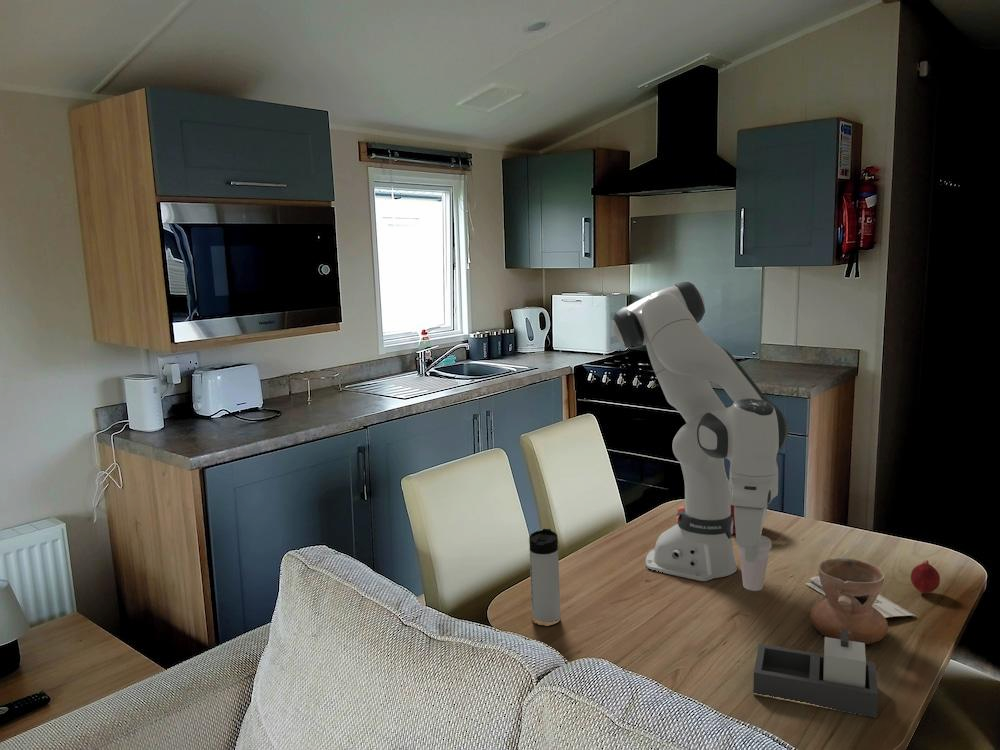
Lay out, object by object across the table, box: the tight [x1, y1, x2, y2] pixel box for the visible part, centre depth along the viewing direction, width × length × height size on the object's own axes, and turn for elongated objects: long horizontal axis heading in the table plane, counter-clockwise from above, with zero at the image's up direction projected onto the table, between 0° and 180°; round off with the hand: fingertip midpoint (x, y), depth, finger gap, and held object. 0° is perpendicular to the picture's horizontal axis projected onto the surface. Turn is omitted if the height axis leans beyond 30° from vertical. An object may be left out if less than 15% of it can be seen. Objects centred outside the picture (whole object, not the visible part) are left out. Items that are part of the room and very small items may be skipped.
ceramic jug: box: [809, 557, 889, 645], centre depth 155 cm, size 18×14×14 cm
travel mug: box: [528, 528, 561, 622], centre depth 165 cm, size 6×7×20 cm
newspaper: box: [805, 575, 918, 623], centre depth 169 cm, size 23×12×2 cm, turn 13°
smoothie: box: [736, 534, 773, 592], centre depth 146 cm, size 6×6×14 cm
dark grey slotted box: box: [753, 629, 879, 719], centre depth 139 cm, size 20×16×10 cm
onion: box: [910, 559, 941, 595], centre depth 170 cm, size 6×6×8 cm
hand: (752, 552), depth 146 cm, fingers closed on smoothie, 6 cm apart
